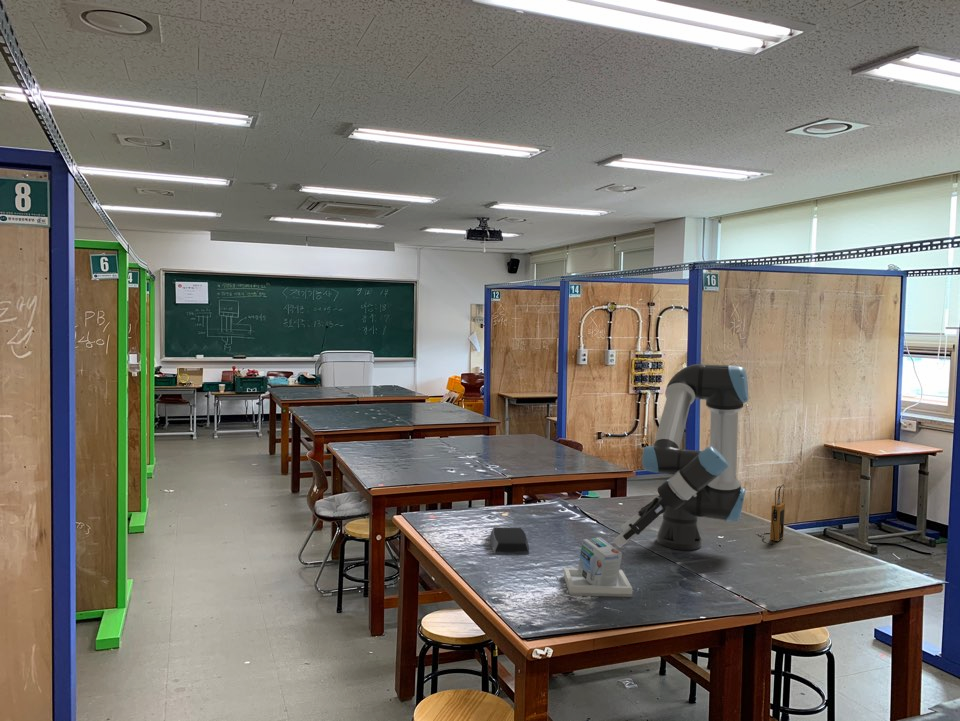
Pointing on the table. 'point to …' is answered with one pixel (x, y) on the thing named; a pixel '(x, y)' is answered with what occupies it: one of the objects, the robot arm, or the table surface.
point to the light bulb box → (599, 562)
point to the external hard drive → (508, 541)
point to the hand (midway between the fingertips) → (620, 537)
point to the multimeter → (777, 519)
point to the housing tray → (584, 588)
